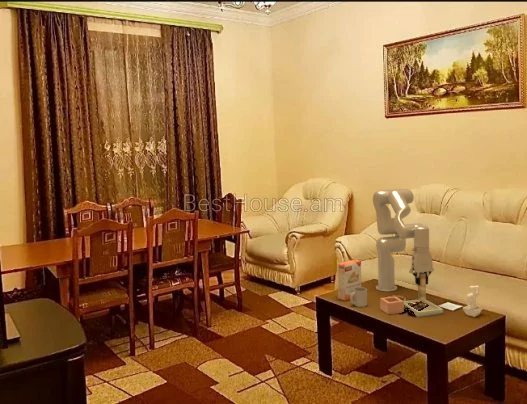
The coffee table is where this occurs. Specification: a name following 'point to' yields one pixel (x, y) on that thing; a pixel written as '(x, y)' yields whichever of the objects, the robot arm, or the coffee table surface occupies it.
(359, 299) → the cup
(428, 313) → the tray
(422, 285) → the dowel
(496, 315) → the coffee table surface
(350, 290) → the cracker box
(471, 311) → the figurine
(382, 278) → the robot arm
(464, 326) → the coffee table surface
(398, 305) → the holder
